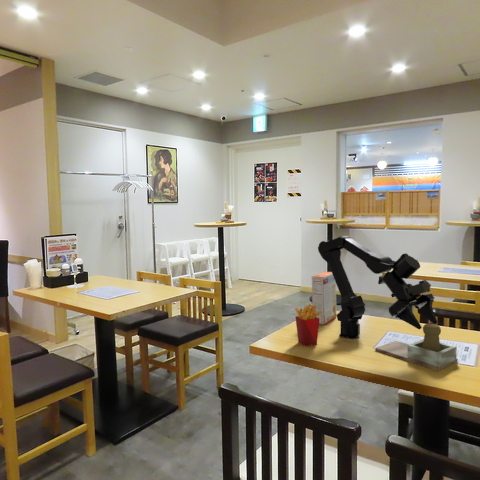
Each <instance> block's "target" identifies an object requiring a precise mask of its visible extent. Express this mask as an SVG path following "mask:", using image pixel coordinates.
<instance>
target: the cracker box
mask: <svg viewBox="0 0 480 480" xmlns="http://www.w3.org/2000/svg"><path fill="white" fill-rule="evenodd" d="M311 296H312V299H311V302H312V303H311V305H313V306H314V305H315V306H316V308H315V312H316V313H317V312H319V311H322V313H321V314H319V315H318V316H316V317H317V318H319V325H322V326H325V325H326V324H329V323H330V322H331V321H333V320H334V319H337V284H336V282H335V279H334V277H333V274H332V272H331V271H323V272H320V273H318V274H315V275H313V276H311Z"/></svg>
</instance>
